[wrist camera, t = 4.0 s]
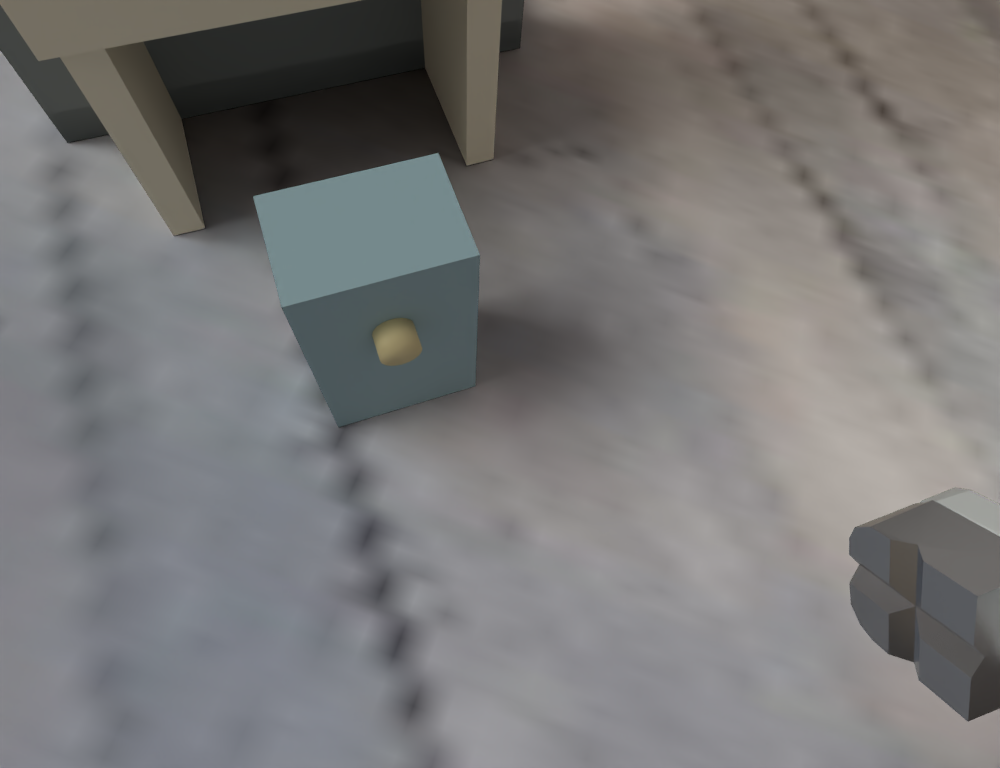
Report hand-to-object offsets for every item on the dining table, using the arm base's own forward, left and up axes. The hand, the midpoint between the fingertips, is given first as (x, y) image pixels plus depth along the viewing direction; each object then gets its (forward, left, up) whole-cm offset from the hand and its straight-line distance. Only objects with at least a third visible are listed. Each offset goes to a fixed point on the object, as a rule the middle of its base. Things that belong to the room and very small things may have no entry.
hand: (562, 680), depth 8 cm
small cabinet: (0, +11, -13) cm, 18 cm away
